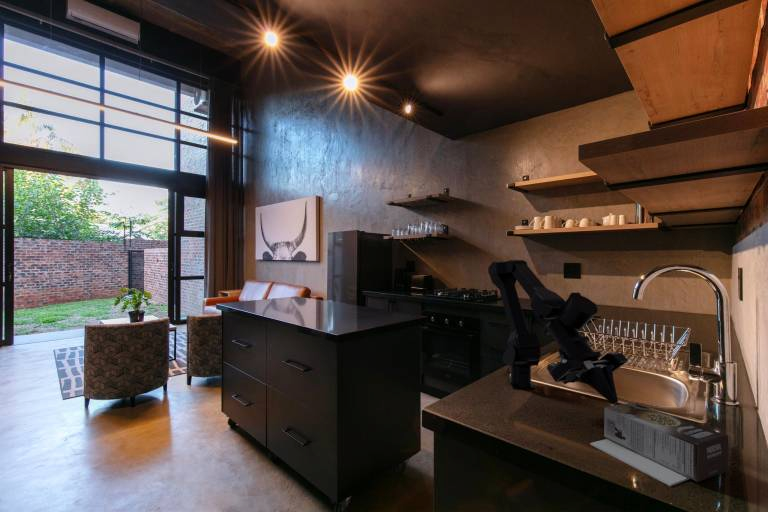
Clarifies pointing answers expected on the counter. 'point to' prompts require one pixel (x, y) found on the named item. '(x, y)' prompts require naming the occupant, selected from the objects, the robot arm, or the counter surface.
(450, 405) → the counter surface
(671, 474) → the grey mat
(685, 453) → the coffee box
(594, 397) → the counter surface
